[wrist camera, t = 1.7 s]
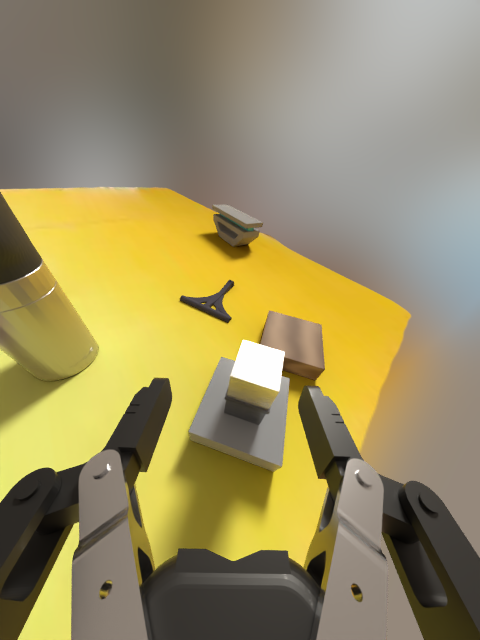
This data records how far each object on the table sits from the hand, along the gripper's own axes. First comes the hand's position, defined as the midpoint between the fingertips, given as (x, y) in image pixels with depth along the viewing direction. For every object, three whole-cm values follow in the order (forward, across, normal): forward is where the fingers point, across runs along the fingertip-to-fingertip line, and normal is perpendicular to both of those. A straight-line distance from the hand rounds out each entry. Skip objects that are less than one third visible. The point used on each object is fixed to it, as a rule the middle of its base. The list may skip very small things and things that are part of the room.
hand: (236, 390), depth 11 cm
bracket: (+40, +5, +12) cm, 42 cm away
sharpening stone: (+81, +3, +2) cm, 81 cm away
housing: (+10, -2, +14) cm, 17 cm away
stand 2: (+24, -12, +16) cm, 31 cm away
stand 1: (+10, -2, +18) cm, 21 cm away
